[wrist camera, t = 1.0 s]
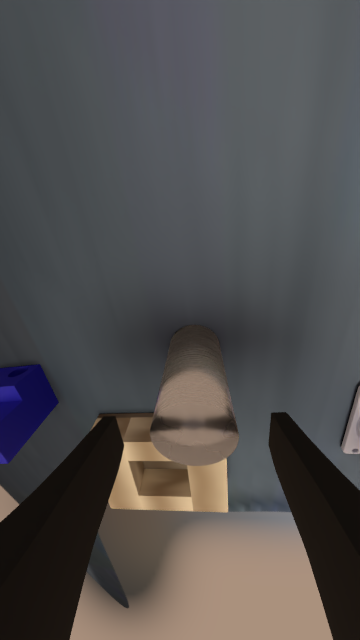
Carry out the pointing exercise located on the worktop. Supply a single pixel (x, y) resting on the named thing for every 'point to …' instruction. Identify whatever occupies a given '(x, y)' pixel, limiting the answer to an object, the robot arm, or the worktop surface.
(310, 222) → the worktop surface
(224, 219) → the worktop surface
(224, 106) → the worktop surface
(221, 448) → the pin
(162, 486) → the pocket block
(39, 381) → the blue curved cradle
